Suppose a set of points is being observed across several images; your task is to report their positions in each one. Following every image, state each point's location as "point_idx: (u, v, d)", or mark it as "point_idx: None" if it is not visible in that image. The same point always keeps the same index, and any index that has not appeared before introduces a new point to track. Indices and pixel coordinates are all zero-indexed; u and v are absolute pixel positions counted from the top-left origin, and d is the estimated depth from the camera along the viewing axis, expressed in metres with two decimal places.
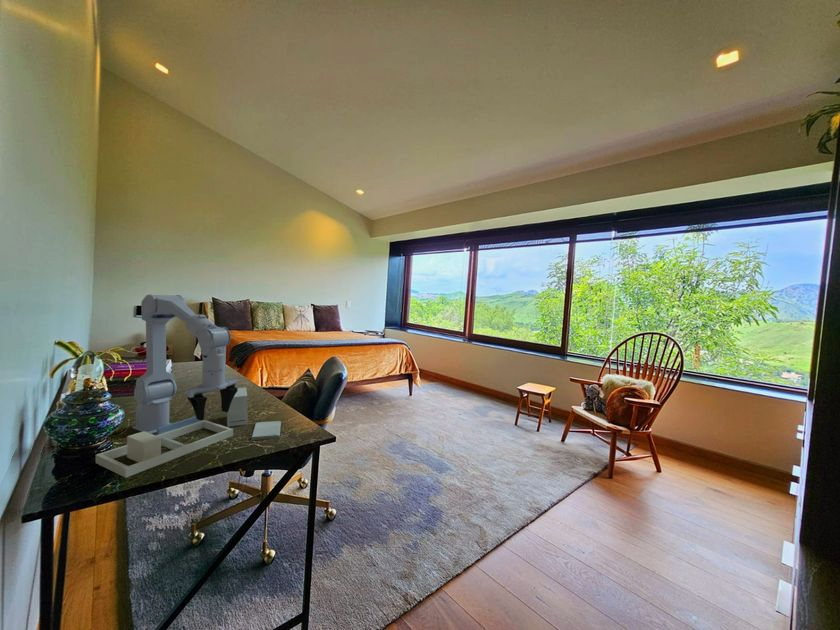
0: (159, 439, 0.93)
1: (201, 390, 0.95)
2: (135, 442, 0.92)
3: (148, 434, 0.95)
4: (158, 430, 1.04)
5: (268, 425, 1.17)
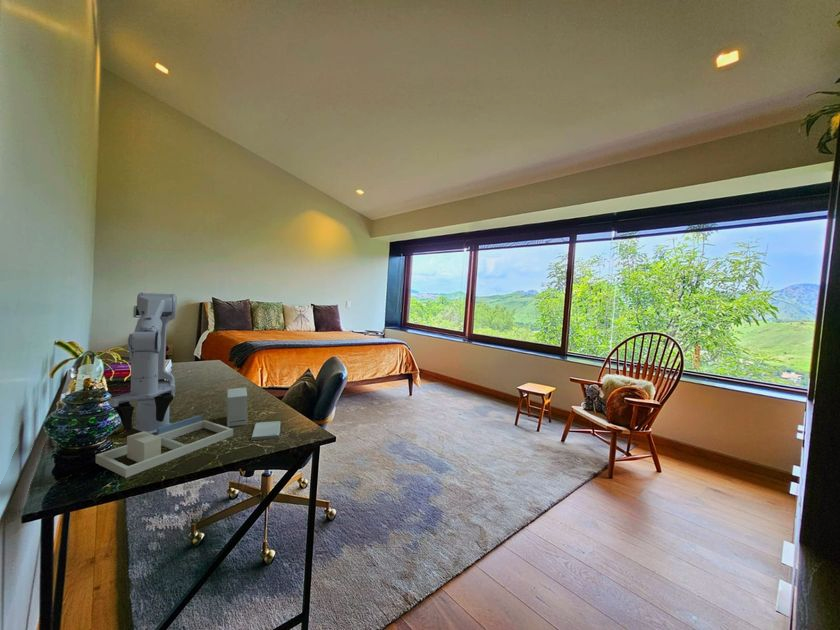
0: (159, 439, 0.93)
1: (127, 398, 0.88)
2: (135, 442, 0.92)
3: (148, 434, 0.95)
4: (158, 430, 1.04)
5: (268, 426, 1.17)
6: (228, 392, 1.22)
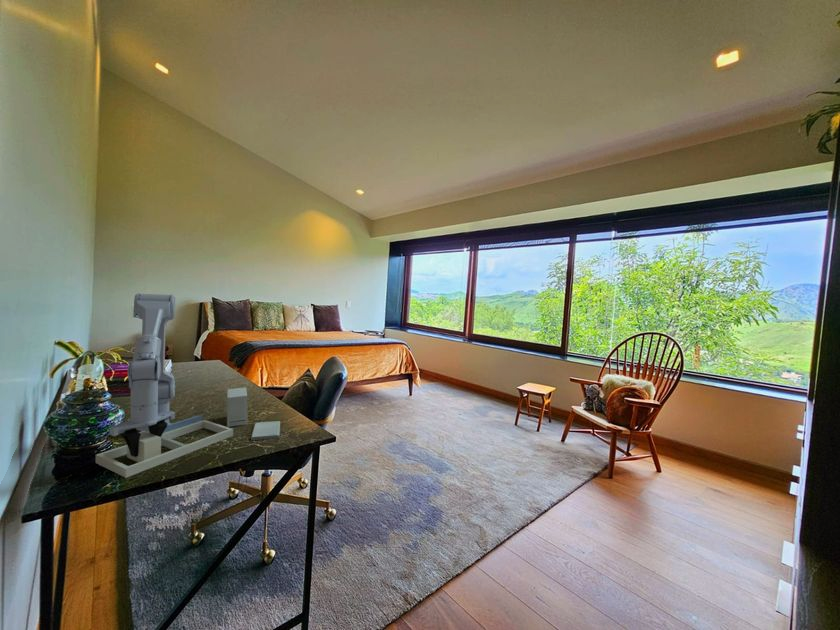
0: (159, 439, 0.93)
1: (127, 427, 0.88)
2: None
3: (148, 434, 0.95)
4: None
5: (268, 426, 1.17)
6: (228, 392, 1.22)
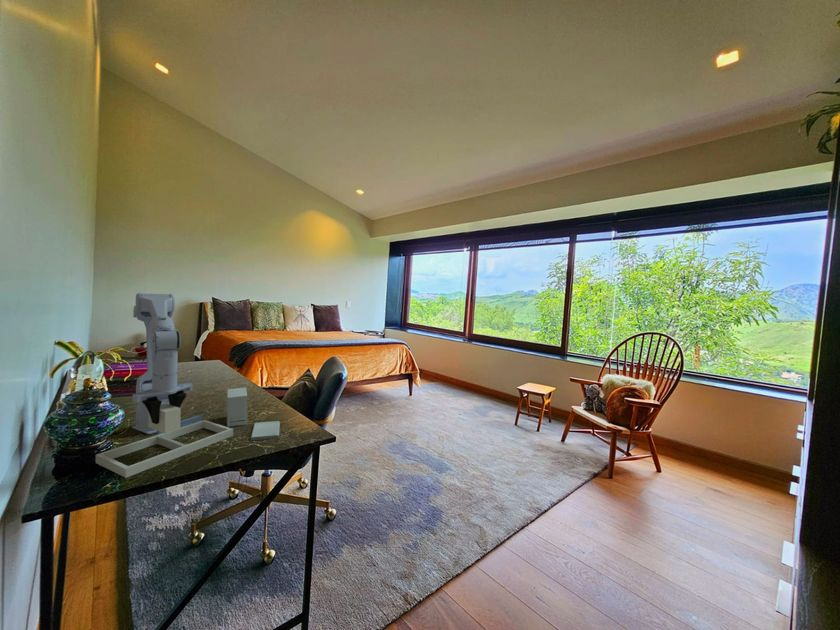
0: (179, 409, 0.97)
1: (149, 395, 0.92)
2: None
3: (168, 405, 0.99)
4: None
5: (267, 426, 1.17)
6: (228, 392, 1.22)
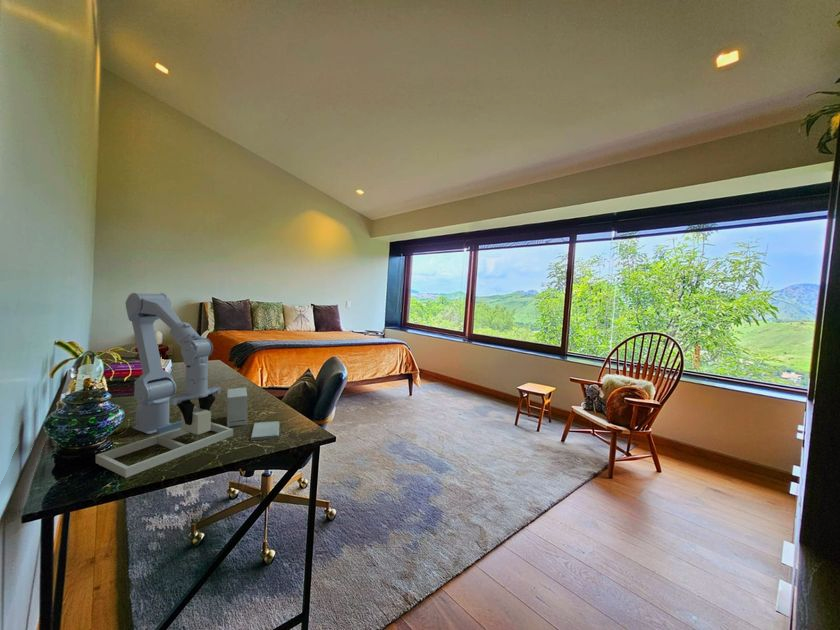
0: (209, 412, 1.06)
1: (184, 398, 1.01)
2: None
3: (199, 408, 1.08)
4: (158, 430, 1.04)
5: (267, 426, 1.17)
6: (228, 392, 1.22)
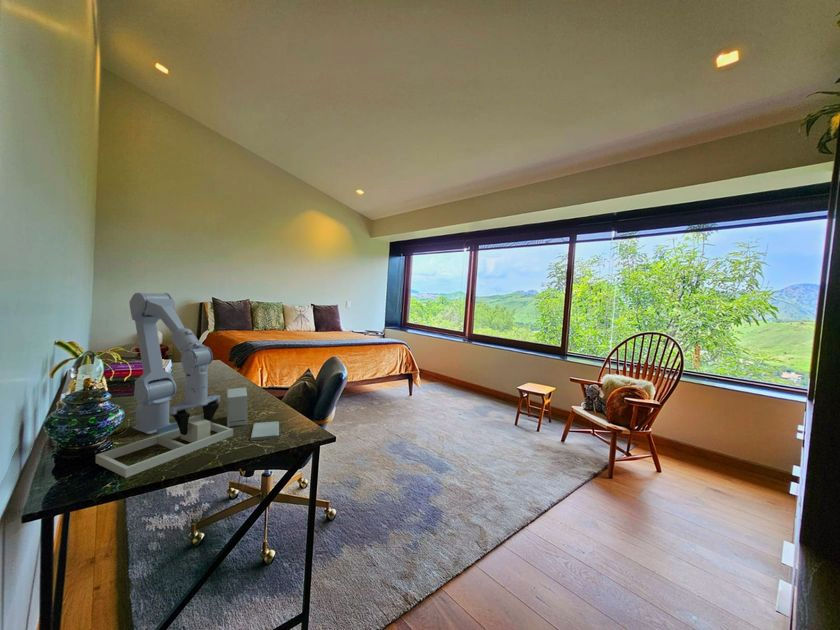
0: (209, 422, 1.06)
1: (184, 407, 1.01)
2: (188, 425, 1.05)
3: (198, 418, 1.08)
4: (158, 430, 1.04)
5: (267, 426, 1.17)
6: (228, 392, 1.22)
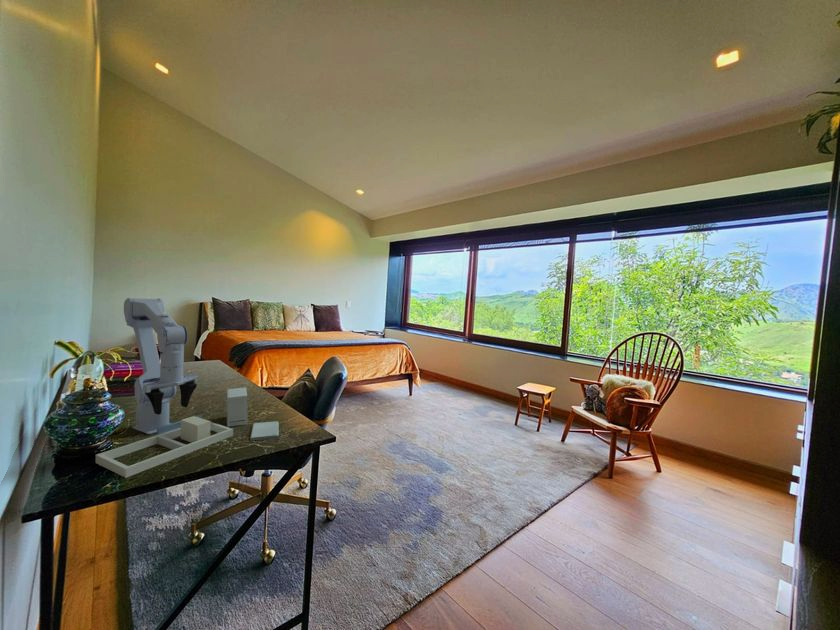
0: (209, 422, 1.06)
1: (158, 385, 0.99)
2: (188, 425, 1.05)
3: (198, 418, 1.08)
4: (158, 430, 1.04)
5: (266, 426, 1.17)
6: (228, 392, 1.22)
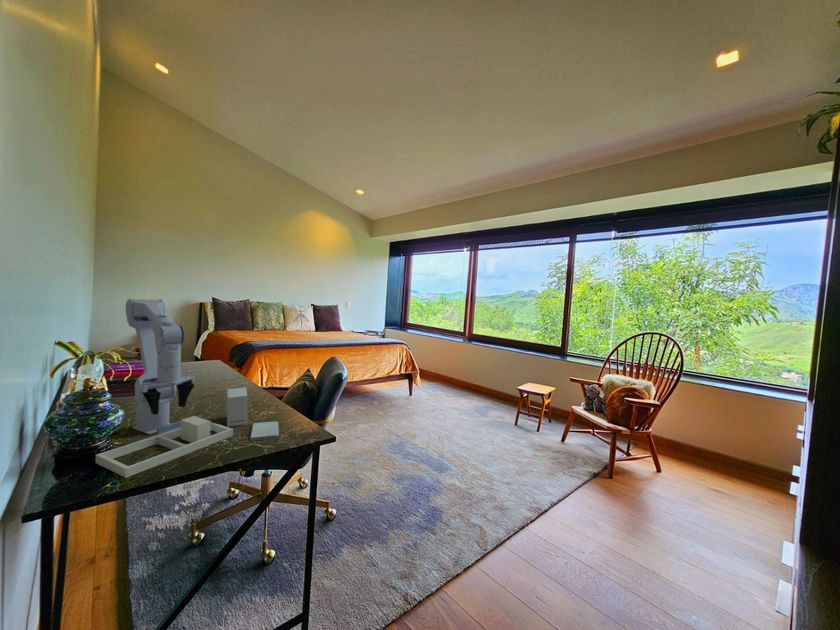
0: (209, 422, 1.06)
1: (155, 385, 0.99)
2: (188, 425, 1.05)
3: (198, 418, 1.08)
4: (158, 430, 1.04)
5: (266, 426, 1.17)
6: (228, 392, 1.22)
